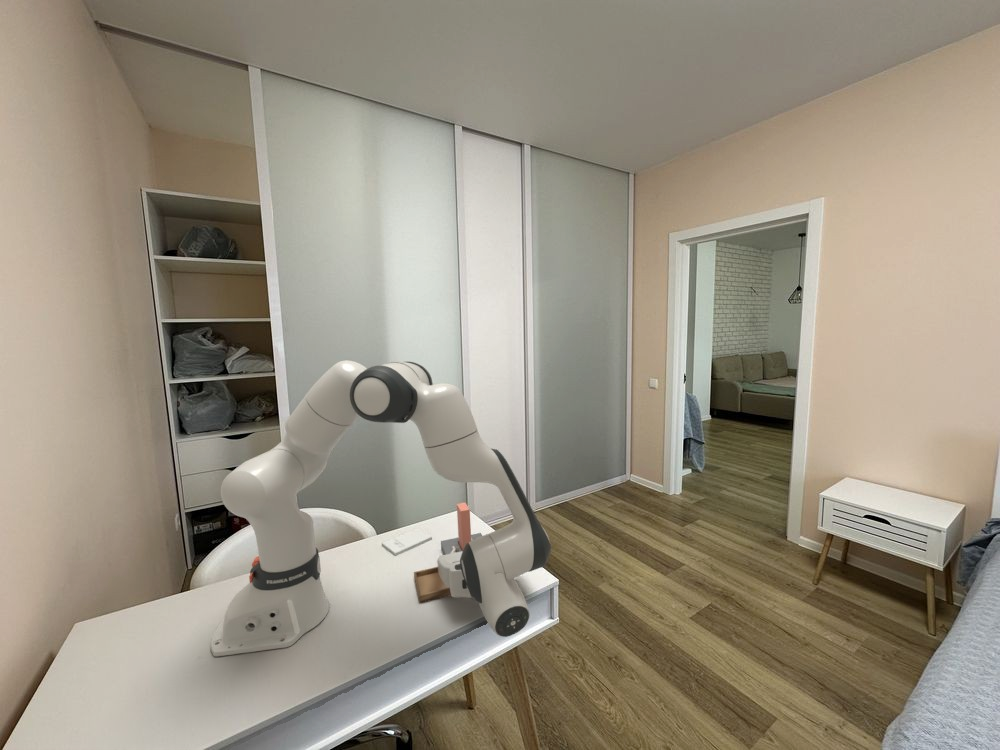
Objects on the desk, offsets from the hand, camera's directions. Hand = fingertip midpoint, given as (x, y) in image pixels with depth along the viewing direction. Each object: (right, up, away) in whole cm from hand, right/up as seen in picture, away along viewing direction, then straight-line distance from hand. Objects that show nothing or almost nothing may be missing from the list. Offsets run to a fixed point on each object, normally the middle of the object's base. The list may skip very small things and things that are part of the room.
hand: (472, 544), depth 103 cm
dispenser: (-3, -7, +10) cm, 13 cm away
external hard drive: (-21, -8, +18) cm, 28 cm away
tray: (-9, -9, -3) cm, 13 cm away
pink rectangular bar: (-3, -7, +10) cm, 13 cm away
